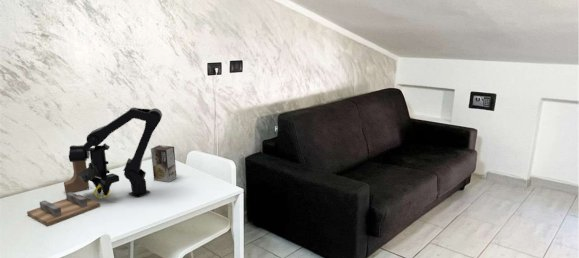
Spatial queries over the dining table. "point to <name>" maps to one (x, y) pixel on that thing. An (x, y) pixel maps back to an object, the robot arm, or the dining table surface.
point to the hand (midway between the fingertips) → (102, 194)
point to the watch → (97, 189)
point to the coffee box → (163, 163)
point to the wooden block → (76, 179)
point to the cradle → (62, 209)
